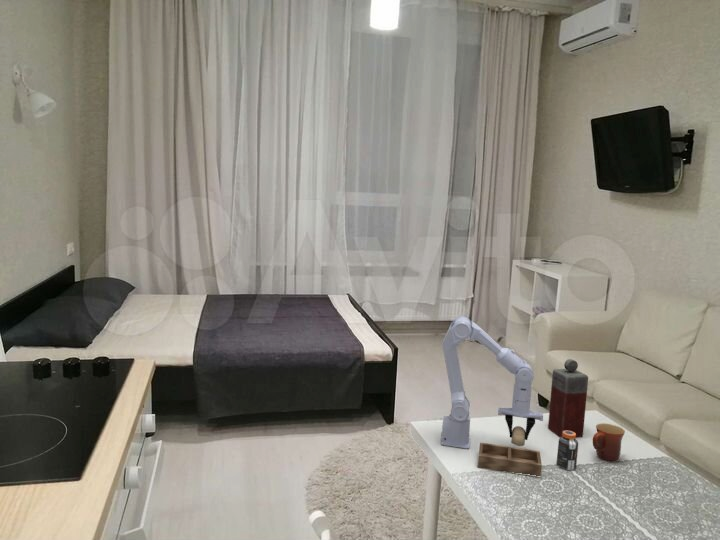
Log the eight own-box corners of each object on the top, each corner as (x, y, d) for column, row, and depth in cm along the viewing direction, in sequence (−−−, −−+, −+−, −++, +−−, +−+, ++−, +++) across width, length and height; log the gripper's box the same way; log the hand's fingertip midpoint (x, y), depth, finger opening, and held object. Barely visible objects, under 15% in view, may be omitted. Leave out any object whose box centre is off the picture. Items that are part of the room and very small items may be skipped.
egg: (511, 444, 178) (512, 428, 177) (511, 439, 182) (512, 423, 182) (524, 446, 177) (526, 430, 176) (524, 441, 181) (525, 425, 180)
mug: (604, 450, 183) (607, 421, 182) (627, 461, 175) (630, 431, 174) (580, 456, 178) (583, 427, 176) (603, 468, 170) (606, 437, 169)
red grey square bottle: (564, 424, 204) (570, 354, 201) (583, 437, 193) (590, 362, 190) (544, 426, 202) (550, 354, 199) (561, 438, 191) (568, 363, 188)
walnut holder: (477, 467, 167) (478, 455, 166) (479, 453, 176) (479, 442, 176) (540, 477, 162) (541, 465, 161) (538, 463, 172) (539, 451, 171)
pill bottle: (577, 471, 167) (581, 437, 166) (558, 469, 168) (561, 435, 167) (574, 462, 173) (577, 429, 171) (555, 460, 174) (557, 427, 172)
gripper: (543, 397, 180) (540, 436, 181) (499, 392, 183) (496, 429, 185) (544, 405, 173) (541, 444, 175) (499, 399, 177) (496, 437, 178)
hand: (518, 437), depth 179 cm, fingers closed on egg, 4 cm apart
